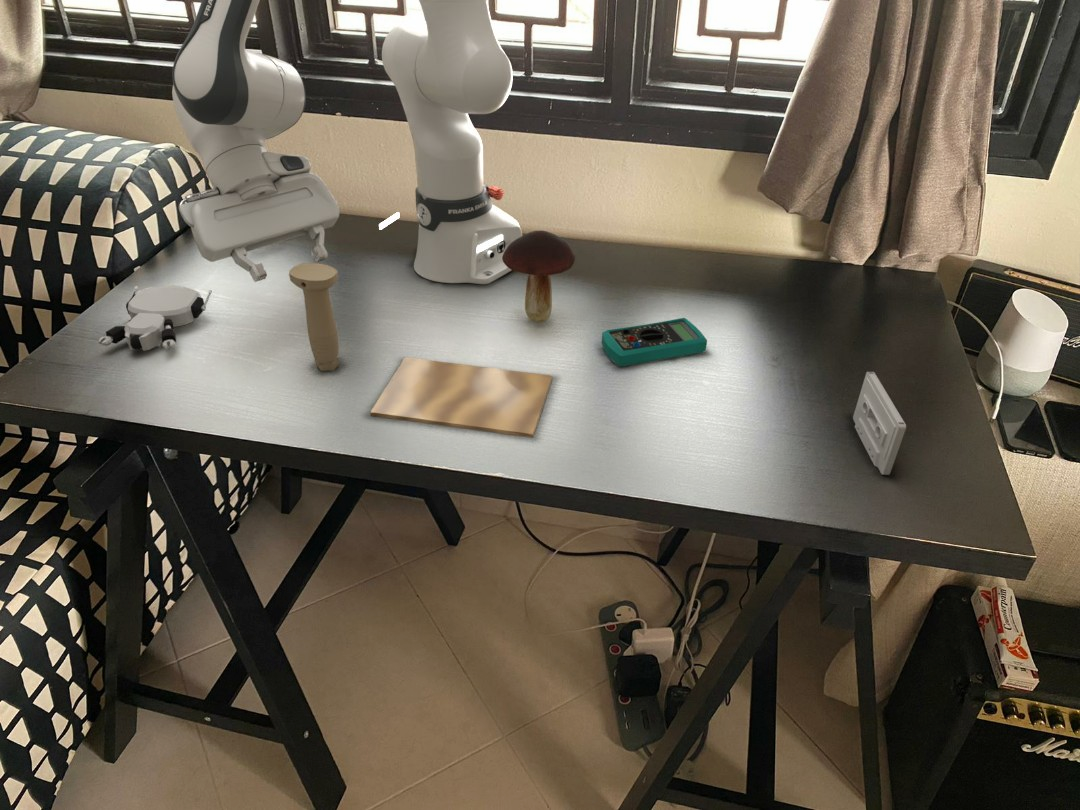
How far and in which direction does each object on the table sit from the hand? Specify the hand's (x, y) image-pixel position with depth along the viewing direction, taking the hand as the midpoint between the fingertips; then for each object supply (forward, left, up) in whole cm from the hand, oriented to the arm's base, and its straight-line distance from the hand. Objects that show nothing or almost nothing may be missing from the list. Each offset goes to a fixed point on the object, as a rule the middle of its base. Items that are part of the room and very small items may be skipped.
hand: (292, 269), depth 113 cm
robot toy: (+14, -19, -14) cm, 27 cm away
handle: (0, +6, -14) cm, 15 cm away
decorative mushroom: (-32, +16, -14) cm, 38 cm away
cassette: (-42, +68, -14) cm, 81 cm away
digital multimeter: (-39, +34, -13) cm, 53 cm away
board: (-10, +25, -13) cm, 30 cm away
